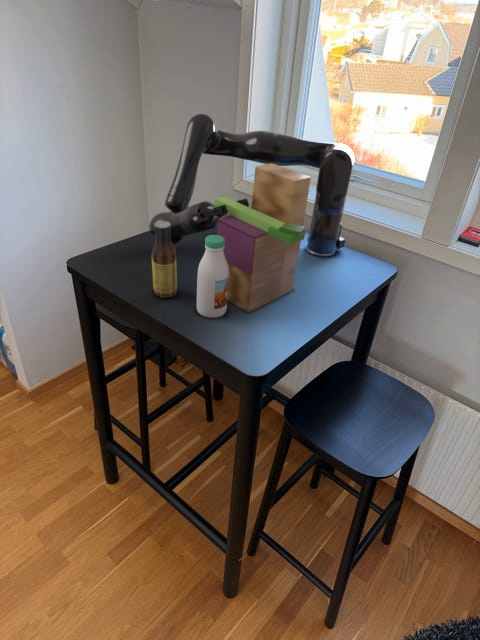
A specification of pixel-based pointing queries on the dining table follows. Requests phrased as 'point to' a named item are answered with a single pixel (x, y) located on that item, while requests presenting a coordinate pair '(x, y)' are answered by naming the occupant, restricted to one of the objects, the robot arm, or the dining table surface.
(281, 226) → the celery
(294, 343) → the dining table surface
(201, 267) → the milk bottle
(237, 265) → the towel
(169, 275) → the sauce bottle
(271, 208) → the oak stand
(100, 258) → the dining table surface
